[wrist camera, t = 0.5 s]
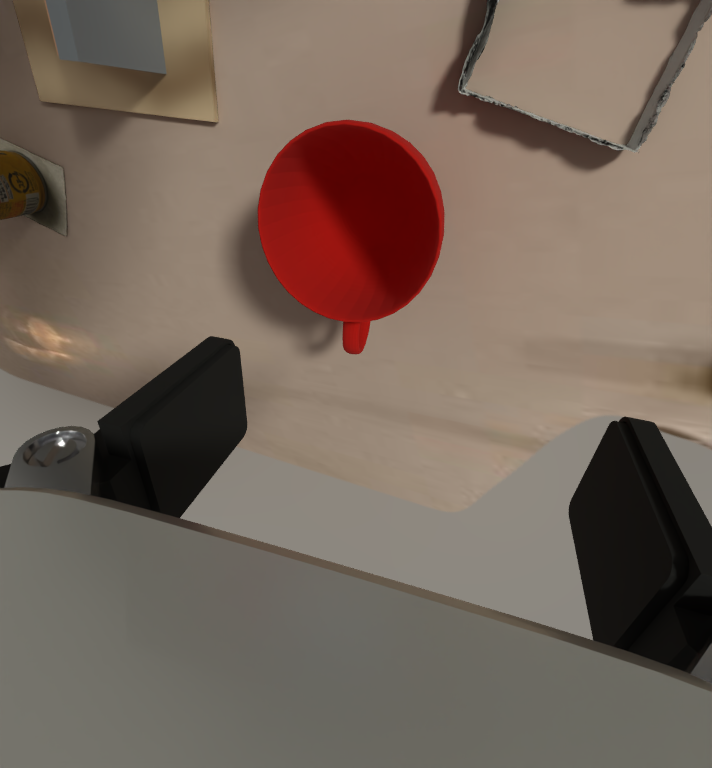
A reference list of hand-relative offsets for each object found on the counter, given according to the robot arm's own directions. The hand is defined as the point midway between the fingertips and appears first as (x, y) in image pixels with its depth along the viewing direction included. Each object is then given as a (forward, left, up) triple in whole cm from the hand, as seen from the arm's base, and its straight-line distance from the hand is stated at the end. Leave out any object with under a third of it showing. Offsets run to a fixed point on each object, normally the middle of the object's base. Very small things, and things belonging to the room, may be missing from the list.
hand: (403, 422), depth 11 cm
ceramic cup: (+2, -7, -30) cm, 30 cm away
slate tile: (-12, -27, -29) cm, 41 cm away
